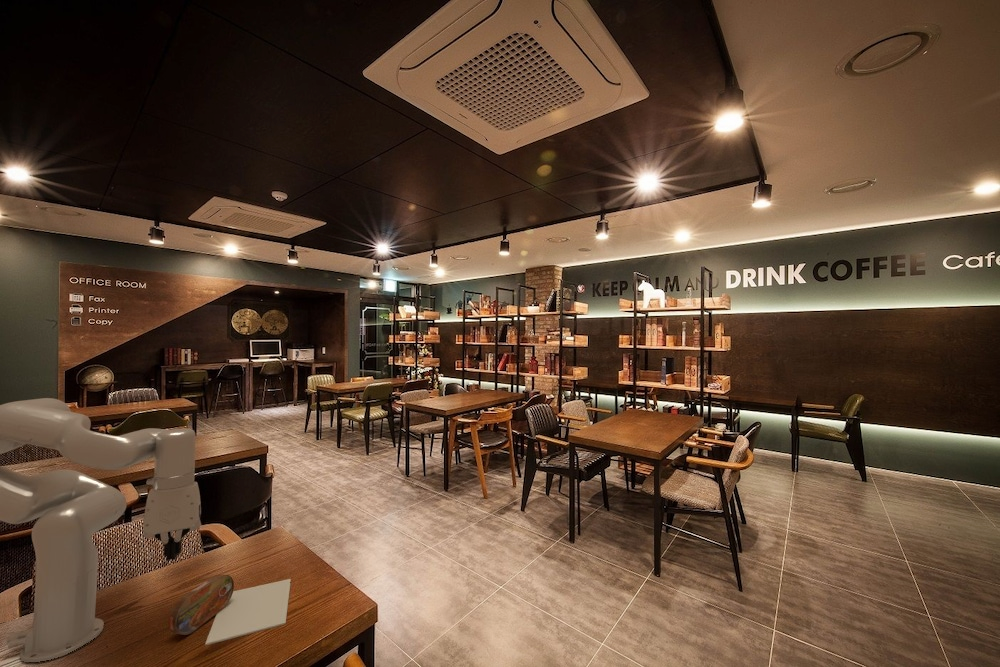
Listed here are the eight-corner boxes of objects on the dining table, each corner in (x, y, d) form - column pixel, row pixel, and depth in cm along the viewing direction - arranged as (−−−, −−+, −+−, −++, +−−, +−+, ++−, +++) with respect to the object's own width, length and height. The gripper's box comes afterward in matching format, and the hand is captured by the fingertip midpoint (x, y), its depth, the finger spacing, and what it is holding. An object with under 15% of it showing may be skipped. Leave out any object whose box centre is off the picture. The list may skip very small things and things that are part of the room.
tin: (177, 644, 87) (176, 606, 87) (166, 642, 88) (165, 605, 88) (235, 599, 102) (234, 567, 102) (225, 598, 102) (224, 567, 103)
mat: (205, 645, 87) (205, 643, 87) (224, 594, 105) (224, 593, 105) (285, 624, 94) (285, 622, 94) (290, 580, 112) (290, 578, 112)
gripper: (127, 490, 87) (124, 573, 86) (208, 480, 93) (206, 557, 92) (141, 480, 93) (138, 557, 93) (215, 472, 100) (214, 543, 99)
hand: (172, 557), depth 92 cm, fingers closed
